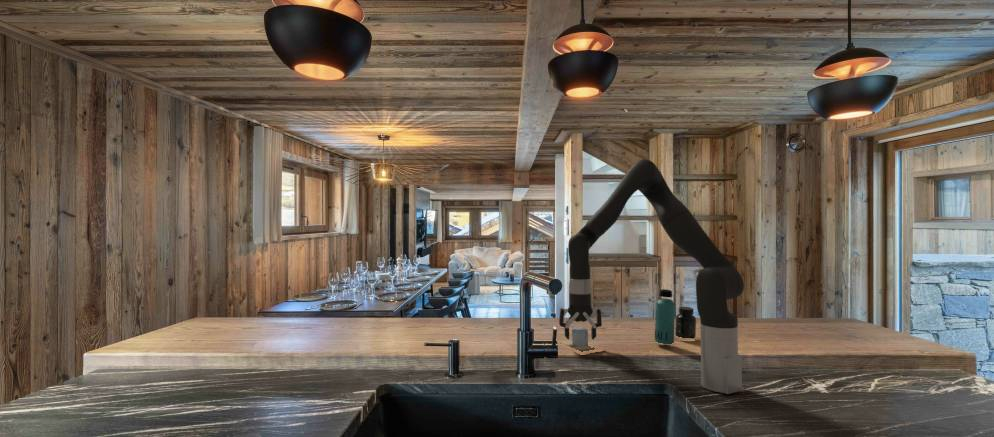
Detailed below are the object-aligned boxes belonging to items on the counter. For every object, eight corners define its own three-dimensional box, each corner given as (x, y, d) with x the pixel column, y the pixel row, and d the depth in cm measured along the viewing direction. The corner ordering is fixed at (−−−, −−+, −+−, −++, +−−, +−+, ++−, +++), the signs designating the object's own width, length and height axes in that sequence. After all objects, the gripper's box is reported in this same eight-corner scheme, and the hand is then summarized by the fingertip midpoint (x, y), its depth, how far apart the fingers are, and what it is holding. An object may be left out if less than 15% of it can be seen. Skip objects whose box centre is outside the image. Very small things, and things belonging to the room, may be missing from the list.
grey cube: (578, 341, 156) (577, 326, 156) (590, 344, 153) (590, 329, 153) (569, 344, 153) (569, 329, 153) (581, 347, 149) (581, 331, 149)
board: (605, 351, 149) (605, 336, 149) (581, 356, 144) (581, 340, 144) (582, 343, 159) (582, 329, 159) (560, 347, 155) (559, 332, 155)
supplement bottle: (671, 338, 164) (672, 306, 163) (686, 336, 166) (687, 305, 166) (683, 344, 158) (685, 311, 157) (699, 342, 160) (700, 309, 159)
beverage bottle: (671, 343, 157) (672, 288, 156) (676, 350, 151) (678, 292, 149) (652, 342, 158) (653, 287, 157) (656, 349, 151) (658, 291, 150)
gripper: (598, 290, 156) (599, 336, 156) (558, 290, 157) (558, 336, 156) (602, 293, 149) (603, 341, 148) (560, 293, 149) (560, 341, 149)
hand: (580, 338), depth 152 cm, fingers open, 8 cm apart
